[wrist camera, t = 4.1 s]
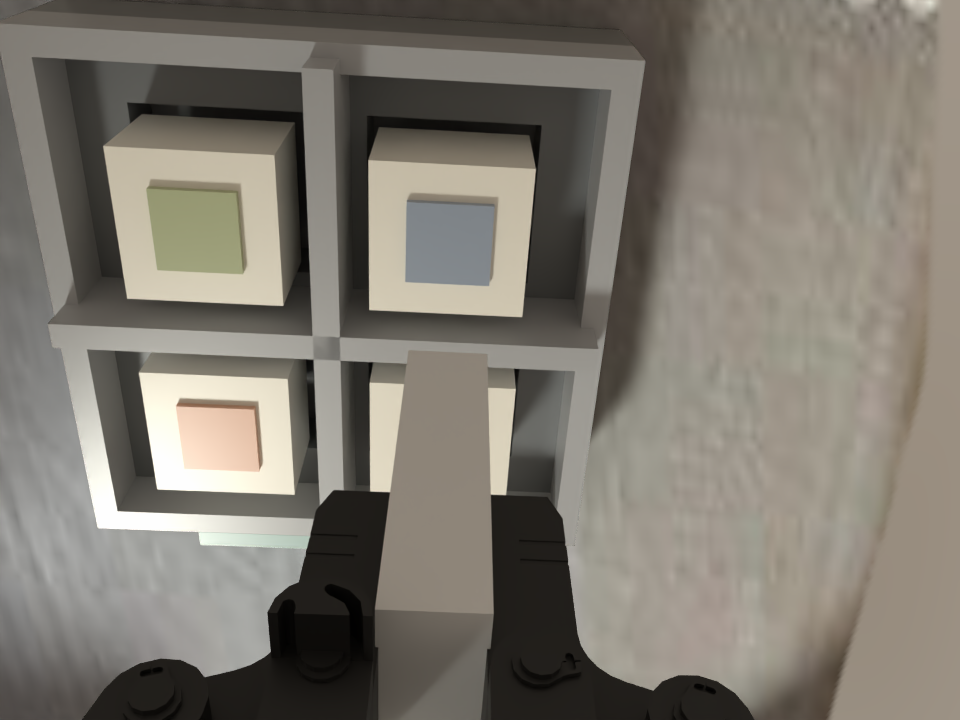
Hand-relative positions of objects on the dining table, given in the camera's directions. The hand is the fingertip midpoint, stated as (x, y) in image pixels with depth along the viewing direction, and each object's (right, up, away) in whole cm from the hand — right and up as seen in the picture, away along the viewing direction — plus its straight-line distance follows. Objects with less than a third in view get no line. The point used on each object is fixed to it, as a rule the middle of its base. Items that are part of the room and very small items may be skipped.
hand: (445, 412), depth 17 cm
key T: (0, +6, +10) cm, 12 cm away
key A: (-8, 0, +14) cm, 16 cm away
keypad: (-4, +4, +14) cm, 15 cm away
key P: (-7, +6, +10) cm, 14 cm away
